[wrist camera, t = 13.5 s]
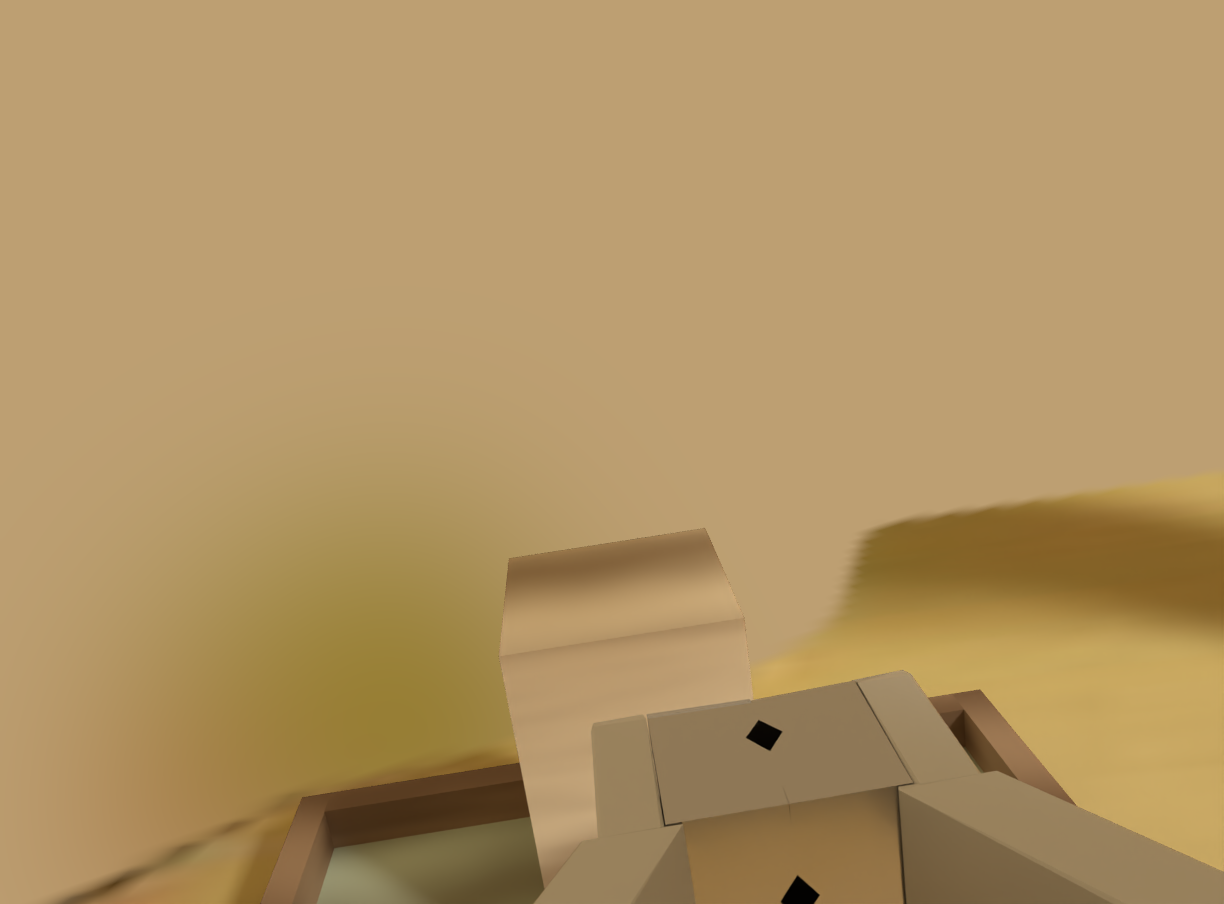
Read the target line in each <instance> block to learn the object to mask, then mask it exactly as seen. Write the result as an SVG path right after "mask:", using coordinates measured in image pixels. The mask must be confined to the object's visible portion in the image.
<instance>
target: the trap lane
mask: <svg viewBox="0 0 1224 904" xmlns="http://www.w3.org/2000/svg"><path fill="white" fill-rule="evenodd" d="M928 699H929V700H930V702H931V703H932V705H933V706H934V707H935V709H936V710H937V712H938V713H939V714H940V716H941V717H942V719H943V720H944V722H945V723H946V724H947V726H948V727H949V729H950V730H951V732H952V733H953V734H954V736H955V737H956V739H957V740H958V742H959V743H960V744H961V746H962V747H963V749H964V750H965V751H966V753H967V754H968V756H969V757H970V759H971V760H972V761H973V763H974V764H975V766H976V767H977V769H978V770H979V771H980V773H986V772H992V771H999V772H1001V773H1003V774H1006V775H1008V776H1010V777H1012V778H1015V779H1017V780H1019V781H1021V782H1023V783H1026V784H1028V785H1030V786H1032V787H1035V788H1037V789H1039V790H1041V791H1044V792H1046V793H1048V794H1050V795H1053V796H1055V797H1057V798H1059V799H1062V800H1064V801H1066V802H1068V803H1071V804H1073V805H1075V806H1076V804H1075V803H1074V802H1073V801H1072V800H1071V798H1070V797H1069V796H1068V795H1067V794H1066V792H1065V791H1064V790H1063V789H1062V788H1061V786H1060V785H1059V784H1058V783H1057V782H1056V780H1055V779H1054V778H1053V777H1052V775H1051V774H1050V773H1049V772H1048V771H1047V769H1046V768H1045V767H1044V766H1043V765H1042V763H1041V762H1040V761H1039V760H1038V759H1037V757H1036V756H1035V755H1034V754H1033V753H1032V751H1031V750H1030V749H1029V748H1028V747H1027V745H1026V744H1025V743H1024V742H1023V741H1022V739H1021V738H1020V737H1019V736H1018V735H1017V733H1016V732H1015V731H1014V730H1013V729H1012V727H1011V726H1010V725H1009V724H1008V723H1007V721H1006V720H1005V719H1004V718H1003V717H1002V715H1001V714H1000V713H999V712H998V711H997V709H996V708H995V707H994V706H993V705H992V703H991V702H990V701H989V700H988V699H987V697H986V696H985V695H984V694H983V692H982V691H981V690H974V691H968V692H961V693H955V694H949V695H942V696H936V697H930V698H928ZM543 891H544V884H543V879H542V874H541V869H540V864H539V859H538V854H537V848H536V843H535V838H534V833H533V828H532V823H531V818H530V813H529V808H528V802H527V797H526V792H525V787H524V782H523V777H522V772H521V767H520V763H516V764H509V765H503V766H497V767H490V768H484V769H478V770H472V771H465V772H459V773H453V774H447V775H440V776H434V777H428V778H421V779H415V780H409V781H403V782H396V783H390V784H384V785H377V786H371V787H365V788H359V789H352V790H346V791H340V792H334V793H327V794H321V795H315V796H308V797H302V799H301V802H300V804H299V807H298V809H297V812H296V815H295V817H294V820H293V822H292V825H291V827H290V830H289V832H288V835H287V837H286V840H285V842H284V845H283V847H282V850H281V853H280V855H279V858H278V860H277V863H276V865H275V868H274V870H273V873H272V875H271V878H270V880H269V883H268V886H267V888H266V891H265V893H264V896H263V898H262V901H261V903H260V904H534V902H535V901H536V900H537V898H538V897H539V896H540V895H541V893H542V892H543Z"/></svg>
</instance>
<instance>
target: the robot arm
mask: <svg viewBox="0 0 1224 904" xmlns="http://www.w3.org/2000/svg"><path fill="white" fill-rule="evenodd" d="M647 721H648V727H647ZM647 721H646V718H645V717H644V715H643V714H642V715H636V716H630V717H625V718H619V719H614V720H608V721H602V722H597V723H593V726H592V730H591V738H592V754H593V770H594V785H595V801H596V816H597V832H598V838H596V839H590V840H585V841H582V842H581V843H580V844H579V846H578V847H577V848H576V849H575V851H574V852H573V853H572V855H571V856H570V857H569V858H568V860H567V861H566V862H565V864H564V865H563V866H562V867H561V869H560V870H559V871H558V873H557V874H556V875H555V876H554V878H553V879H552V880H551V882H550V883H549V884H548V886H547V887H546V888H545V889H544V891H543V892H542V893H541V895H540V896H539V897H538V898H537V900H536V901H535V902H534V904H1224V872H1223V871H1220V870H1218V869H1216V868H1214V867H1212V866H1209V865H1207V864H1205V863H1203V862H1200V861H1198V860H1196V859H1194V858H1191V857H1189V856H1187V855H1185V854H1182V853H1180V852H1178V851H1176V850H1173V849H1171V848H1169V847H1167V846H1165V845H1162V844H1160V843H1158V842H1156V841H1153V840H1151V839H1149V838H1147V837H1144V836H1142V835H1140V834H1138V833H1135V832H1133V831H1131V830H1129V829H1126V828H1124V827H1122V826H1120V825H1118V824H1115V823H1113V822H1111V821H1109V820H1106V819H1104V818H1102V817H1100V816H1097V815H1095V814H1093V813H1091V812H1088V811H1086V810H1084V809H1082V808H1079V807H1077V806H1075V805H1073V804H1071V803H1068V802H1066V801H1064V800H1062V799H1059V798H1057V797H1055V796H1053V795H1050V794H1048V793H1046V792H1044V791H1041V790H1039V789H1037V788H1035V787H1032V786H1030V785H1028V784H1026V783H1023V782H1021V781H1019V780H1017V779H1015V778H1012V777H1010V776H1008V775H1006V774H1003V773H1001V772H999V771H992V772H986V773H980V771H979V770H978V769H977V767H976V766H975V764H974V763H973V761H972V760H971V759H970V757H969V756H968V754H967V753H966V751H965V750H964V749H963V747H962V746H961V744H960V743H959V742H958V740H957V739H956V737H955V736H954V734H953V733H952V732H951V730H950V729H949V727H948V726H947V724H946V723H945V722H944V720H943V719H942V717H941V716H940V714H939V713H938V712H937V710H936V709H935V707H934V706H933V705H932V703H931V702H930V700H929V699H928V697H927V696H926V695H925V693H924V692H923V690H922V689H921V687H920V686H919V685H918V683H917V682H916V680H915V679H914V677H913V676H912V675H911V674H910V673H908V672H906V671H904V670H900V671H896V672H891V673H886V674H881V675H876V676H871V677H866V678H862V679H857V680H852V681H850V682H845V683H840V684H834V685H829V686H824V687H819V688H813V689H808V690H803V691H798V692H793V693H787V694H782V695H777V696H772V697H766V698H761V699H756V700H750V699H746V700H740V701H733V702H726V703H719V704H712V705H706V706H699V707H692V708H685V709H678V710H672V711H665V712H658V713H651V714H647ZM648 728H649V733H648ZM649 734H650V738H649ZM650 740H651V744H650ZM651 747H652V750H651ZM652 753H653V756H652ZM653 759H654V762H653ZM654 765H655V767H654ZM655 771H656V773H655ZM656 777H657V779H656ZM657 783H658V785H657ZM658 789H659V791H658Z"/></svg>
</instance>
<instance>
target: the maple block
mask: <svg viewBox="0 0 1224 904" xmlns="http://www.w3.org/2000/svg"><path fill="white" fill-rule="evenodd" d="M499 659H500V665H501V670H502V675H503V680H504V685H505V690H506V695H507V700H508V705H509V711H510V716H511V721H512V726H513V731H514V736H515V741H516V746H517V751H518V757H519V762H520V767H521V772H522V777H523V782H524V787H525V792H526V797H527V802H528V808H529V813H530V818H531V823H532V828H533V833H534V838H535V843H536V848H537V854H538V859H539V864H540V869H541V874H542V879H543V884H544V889H545V888H546V887H547V886H548V884H549V883H550V882H551V880H552V879H553V878H554V876H555V875H556V874H557V873H558V871H559V870H560V869H561V867H562V866H563V865H564V864H565V862H566V861H567V860H568V858H569V857H570V856H571V855H572V853H573V852H574V851H575V849H576V848H577V847H578V846H579V844H580V843H581V842H582V841H585V840H590V839H596V838H598V832H597V816H596V801H595V785H594V770H593V754H592V738H591V730H592V726H593V723H597V722H602V721H608V720H614V719H619V718H625V717H630V716H636V715H642V714H643V715H644V717H645V718H646V721H647V714H651V713H658V712H665V711H672V710H678V709H685V708H692V707H699V706H706V705H712V704H719V703H726V702H733V701H740V700H746V699H750V700H753V693H752V684H751V675H750V665H749V656H748V648H747V639H746V629H745V620H744V616H743V614H742V611H741V609H740V607H739V604H738V602H737V600H736V598H735V595H734V593H733V591H732V588H731V586H730V584H729V582H728V579H727V577H726V575H725V573H724V570H723V568H722V566H721V563H720V561H719V559H718V556H717V554H716V552H715V550H714V548H713V545H712V543H711V540H710V538H709V536H708V534H707V531H706V529H705V528H703V529H697V530H690V531H684V532H677V533H671V534H664V535H658V536H652V537H645V538H639V539H632V540H626V541H620V542H612V543H606V544H600V545H594V546H587V547H580V548H574V549H567V550H561V551H554V552H548V553H541V554H535V555H528V556H522V557H516V558H510V559H509V563H508V573H507V582H506V592H505V602H504V611H503V621H502V631H501V641H500V650H499ZM647 727H648V721H647ZM648 733H649V728H648ZM649 738H650V734H649ZM650 744H651V740H650ZM651 750H652V747H651ZM652 756H653V753H652ZM653 762H654V759H653ZM654 767H655V765H654ZM655 773H656V771H655ZM656 779H657V777H656ZM657 785H658V783H657ZM658 791H659V789H658Z"/></svg>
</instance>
